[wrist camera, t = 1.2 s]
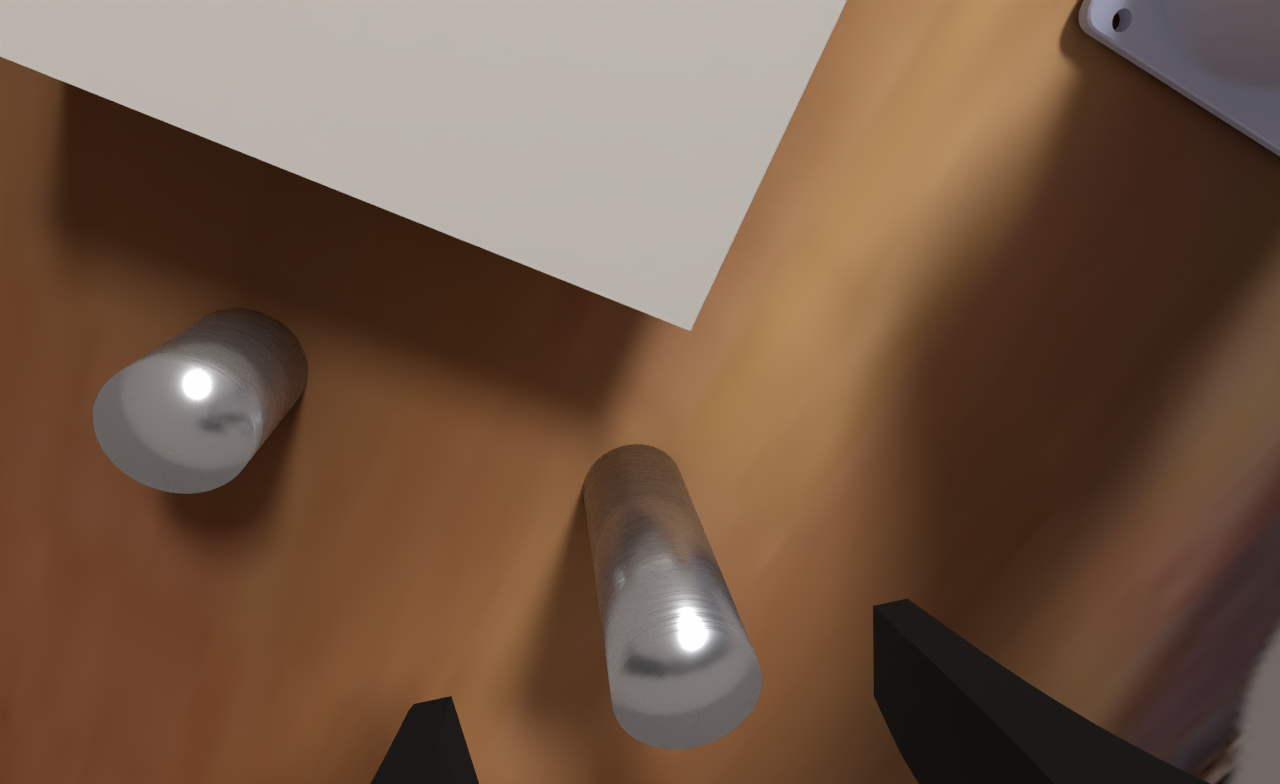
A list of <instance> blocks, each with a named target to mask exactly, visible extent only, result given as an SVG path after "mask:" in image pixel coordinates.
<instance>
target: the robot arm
mask: <svg viewBox="0 0 1280 784" xmlns="http://www.w3.org/2000/svg"><path fill="white" fill-rule="evenodd" d="M1116 13H1118V14H1119V18H1120V22H1119V25H1118V27H1117V28H1116V30H1114V29H1113V27H1112V20H1113V17H1114V15H1115V14H1116ZM1078 20H1079V24H1080V27H1081V29H1082V30H1083V31H1084V32H1085V33H1086V34H1088V35H1090V36H1091V37H1093V38H1094V39H1096V40H1097V41H1099V42H1101V43H1102V44H1104V45H1105V46H1107V47H1108V48H1110V49H1112V50H1113V51H1115V52H1116V53H1118V54H1119V55H1121V56H1123V57H1124V58H1126V59H1127V60H1129V61H1130V62H1132V63H1134V64H1135V65H1137V66H1138V67H1140V68H1141V69H1143V70H1145V71H1146V72H1148V73H1149V74H1151V75H1152V76H1154V77H1156V78H1157V79H1159V80H1160V81H1162V82H1163V83H1165V84H1167V85H1168V86H1170V87H1171V88H1173V89H1174V90H1176V91H1177V92H1179V93H1181V94H1182V95H1184V96H1185V97H1187V98H1188V99H1190V100H1192V101H1193V102H1195V103H1196V104H1198V105H1199V106H1201V107H1203V108H1204V109H1206V110H1207V111H1209V112H1210V113H1212V114H1214V115H1215V116H1217V117H1218V118H1220V119H1221V120H1223V121H1225V122H1226V123H1228V124H1229V125H1231V126H1232V127H1234V128H1236V129H1237V130H1239V131H1240V132H1242V133H1243V134H1245V135H1247V136H1248V137H1250V138H1251V139H1253V140H1254V141H1256V142H1258V143H1259V144H1261V145H1262V146H1264V147H1265V148H1267V149H1269V150H1270V151H1272V152H1273V153H1275V154H1276V155H1278V156H1279V157H1280V0H1084V1H1083V3H1082V5H1081V8H1080V10H1079V19H1078ZM873 636H874V697H875V699H876V701H877V704H878V706H879V708H880V710H881V712H882V715H883V717H884V719H885V721H886V723H887V726H888V728H889V730H890V732H891V734H892V736H893V738H894V740H895V742H896V744H897V747H898V749H899V751H900V753H901V755H902V756H903V758H904V760H905V761H906V763H907V765H908V767H909V768H910V770H911V772H912V773H913V775H914V776H915V778H916V780H917V781H918V783H919V784H1210V783H1207V782H1205V781H1203V780H1201V779H1199V778H1197V777H1195V776H1192V775H1190V774H1188V773H1186V772H1184V771H1182V770H1180V769H1178V768H1176V767H1174V766H1172V765H1170V764H1168V763H1166V762H1164V761H1162V760H1160V759H1159V758H1157V757H1155V756H1153V755H1151V754H1149V753H1147V752H1145V751H1143V750H1142V749H1140V748H1138V747H1136V746H1134V745H1132V744H1130V743H1128V742H1126V741H1125V740H1123V739H1121V738H1119V737H1117V736H1115V735H1113V734H1112V733H1110V732H1108V731H1106V730H1105V729H1103V728H1101V727H1099V726H1097V725H1096V724H1094V723H1092V722H1090V721H1089V720H1087V719H1086V718H1084V717H1082V716H1081V715H1079V714H1077V713H1076V712H1074V711H1072V710H1071V709H1069V708H1067V707H1066V706H1064V705H1062V704H1061V703H1059V702H1057V701H1056V700H1054V699H1052V698H1051V697H1049V696H1048V695H1046V694H1044V693H1043V692H1041V691H1040V690H1038V689H1037V688H1035V687H1033V686H1032V685H1030V684H1029V683H1027V682H1026V681H1024V680H1023V679H1021V678H1020V677H1018V676H1017V675H1015V674H1014V673H1012V672H1011V671H1009V670H1008V669H1006V668H1005V667H1003V666H1002V665H1000V664H999V663H997V662H996V661H994V660H993V659H991V658H990V657H989V656H987V655H986V654H984V653H983V652H981V651H980V650H979V649H977V648H976V647H974V646H973V645H971V644H970V643H969V642H967V641H966V640H964V639H963V638H962V637H960V636H959V635H957V634H956V633H955V632H953V631H952V630H950V629H949V628H948V627H946V626H945V625H943V624H942V623H941V622H939V621H938V620H936V619H935V618H934V617H932V616H931V615H929V614H928V613H927V612H925V611H924V610H922V609H921V608H920V607H918V606H917V605H915V604H914V603H912V602H911V601H910V600H908V599H904V600H899V601H894V602H890V603H885V604H880V605H876V606H873ZM371 784H479V782H478V779H477V776H476V773H475V769H474V766H473V763H472V760H471V757H470V754H469V751H468V747H467V744H466V741H465V738H464V735H463V732H462V728H461V725H460V722H459V719H458V716H457V713H456V710H455V706H454V703H453V700H452V697H451V696H450V697H445V698H440V699H436V700H431V701H426V702H422V703H417V704H414V705H413V706H412V707H411V708H410V710H409V711H408V713H407V715H406V717H405V719H404V721H403V723H402V725H401V727H400V729H399V731H398V733H397V735H396V737H395V739H394V741H393V743H392V745H391V746H390V748H389V750H388V752H387V754H386V756H385V758H384V760H383V762H382V764H381V765H380V767H379V769H378V771H377V773H376V775H375V777H374V778H373V780H372V782H371Z"/></svg>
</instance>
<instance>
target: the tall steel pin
mask: <svg viewBox="0 0 1280 784" xmlns="http://www.w3.org/2000/svg"><path fill="white" fill-rule="evenodd" d="M583 496H584V504H585V511H586V518H587V526H588V533H589V540H590V547H591V555H592V562H593V569H594V576H595V584H596V591H597V598H598V605H599V613H600V620H601V627H602V634H603V642H604V649H605V656H606V663H607V671H608V678H609V685H610V692H611V700H612V707H613V711H614V714H615V717H616V719H617V721H618V723H619V724H620V726H621V727H622V728H623V729H624V730H625V731H626V732H627V733H628V734H629V735H630V736H632V737H633V738H635V739H636V740H638V741H640V742H642V743H644V744H647V745H650V746H653V747H657V748H664V749H686V748H693V747H697V746H701V745H704V744H707V743H710V742H713V741H715V740H717V739H719V738H721V737H723V736H725V735H726V734H728V733H729V732H731V731H732V730H734V729H735V728H736V727H737V726H739V725H740V724H741V723H742V722H743V721H744V720H745V719H746V718H747V716H748V715H749V714H750V713H751V711H752V710H753V708H754V706H755V705H756V703H757V701H758V698H759V695H760V692H761V687H762V674H761V669H760V665H759V662H758V660H757V658H756V655H755V653H754V650H753V648H752V645H751V643H750V641H749V638H748V636H747V633H746V631H745V628H744V626H743V624H742V621H741V619H740V616H739V614H738V611H737V609H736V607H735V604H734V602H733V599H732V597H731V594H730V592H729V590H728V587H727V585H726V582H725V580H724V577H723V575H722V572H721V570H720V568H719V565H718V563H717V560H716V558H715V555H714V553H713V551H712V548H711V546H710V543H709V541H708V538H707V536H706V534H705V531H704V529H703V526H702V524H701V521H700V519H699V517H698V514H697V512H696V509H695V507H694V504H693V502H692V500H691V497H690V495H689V492H688V490H687V487H686V485H685V483H684V480H683V478H682V475H681V473H680V470H679V468H678V466H677V465H676V463H675V462H674V461H673V460H672V458H671V457H670V456H668V455H667V454H666V453H664V452H663V451H661V450H659V449H657V448H654V447H651V446H647V445H635V444H634V445H626V446H622V447H619V448H616V449H613V450H611V451H609V452H608V453H606V454H604V455H603V456H602V457H601V458H599V459H598V460H597V461H596V462H595V463H594V464H593V466H592V467H591V469H590V470H589V472H588V474H587V476H586V479H585V482H584V488H583Z"/></svg>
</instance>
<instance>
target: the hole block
mask: <svg viewBox="0 0 1280 784" xmlns="http://www.w3.org/2000/svg"><path fill="white" fill-rule="evenodd" d="M846 1H847V0H0V57H3V58H6V59H8V60H11V61H13V62H16V63H18V64H21V65H23V66H26V67H28V68H31V69H33V70H36V71H38V72H41V73H43V74H46V75H48V76H51V77H53V78H56V79H58V80H61V81H63V82H66V83H68V84H71V85H73V86H76V87H78V88H81V89H83V90H86V91H88V92H91V93H93V94H96V95H99V96H101V97H104V98H106V99H109V100H111V101H114V102H116V103H119V104H121V105H124V106H126V107H129V108H131V109H134V110H136V111H139V112H141V113H144V114H146V115H149V116H151V117H154V118H156V119H159V120H161V121H164V122H166V123H169V124H171V125H174V126H176V127H179V128H181V129H184V130H186V131H189V132H191V133H194V134H197V135H199V136H202V137H204V138H207V139H209V140H212V141H214V142H217V143H219V144H222V145H224V146H227V147H229V148H232V149H234V150H237V151H239V152H242V153H244V154H247V155H249V156H252V157H254V158H257V159H259V160H262V161H264V162H267V163H269V164H272V165H274V166H277V167H279V168H282V169H284V170H287V171H289V172H292V173H295V174H297V175H300V176H302V177H305V178H307V179H310V180H312V181H315V182H317V183H320V184H322V185H325V186H327V187H330V188H332V189H335V190H337V191H340V192H342V193H345V194H347V195H350V196H352V197H355V198H357V199H360V200H362V201H365V202H367V203H370V204H372V205H375V206H377V207H380V208H382V209H385V210H388V211H390V212H393V213H395V214H398V215H400V216H403V217H405V218H408V219H410V220H413V221H415V222H418V223H420V224H423V225H425V226H428V227H430V228H433V229H435V230H438V231H440V232H443V233H445V234H448V235H450V236H453V237H455V238H458V239H460V240H463V241H465V242H468V243H470V244H473V245H475V246H478V247H480V248H483V249H486V250H488V251H491V252H493V253H496V254H498V255H501V256H503V257H506V258H508V259H511V260H513V261H516V262H518V263H521V264H523V265H526V266H528V267H531V268H533V269H536V270H538V271H541V272H543V273H546V274H548V275H551V276H553V277H556V278H558V279H561V280H563V281H566V282H568V283H571V284H573V285H576V286H579V287H581V288H584V289H586V290H589V291H591V292H594V293H596V294H599V295H601V296H604V297H606V298H609V299H611V300H614V301H616V302H619V303H621V304H624V305H626V306H629V307H631V308H634V309H636V310H639V311H641V312H644V313H646V314H649V315H651V316H654V317H656V318H659V319H661V320H664V321H666V322H669V323H671V324H674V325H677V326H679V327H682V328H684V329H687V330H689V331H691V328H692V326H693V324H694V322H695V320H696V318H697V316H698V314H699V312H700V309H701V307H702V305H703V303H704V301H705V299H706V297H707V295H708V293H709V290H710V288H711V286H712V284H713V282H714V280H715V278H716V276H717V273H718V271H719V269H720V267H721V265H722V263H723V261H724V259H725V257H726V254H727V252H728V250H729V248H730V246H731V244H732V242H733V240H734V238H735V235H736V233H737V231H738V229H739V227H740V225H741V223H742V221H743V219H744V216H745V214H746V212H747V210H748V208H749V206H750V204H751V202H752V200H753V197H754V195H755V193H756V191H757V189H758V187H759V185H760V183H761V181H762V178H763V176H764V174H765V172H766V170H767V168H768V166H769V164H770V161H771V159H772V157H773V155H774V153H775V151H776V149H777V147H778V145H779V142H780V140H781V138H782V136H783V134H784V132H785V130H786V128H787V126H788V123H789V121H790V119H791V117H792V115H793V113H794V111H795V109H796V107H797V104H798V102H799V100H800V98H801V96H802V94H803V92H804V90H805V88H806V85H807V83H808V81H809V79H810V77H811V75H812V73H813V71H814V69H815V66H816V64H817V62H818V60H819V58H820V56H821V54H822V52H823V49H824V47H825V45H826V43H827V41H828V39H829V37H830V35H831V33H832V30H833V28H834V26H835V24H836V22H837V20H838V18H839V16H840V14H841V11H842V9H843V7H844V5H845V3H846Z"/></svg>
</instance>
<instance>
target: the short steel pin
mask: <svg viewBox="0 0 1280 784" xmlns="http://www.w3.org/2000/svg"><path fill="white" fill-rule="evenodd" d="M307 379H308V363H307V359H306V355H305V353H304V350H303V348H302V346H301V344H300V342H299V341H298V340H297V338H296V337H295V336H294V334H293V333H292V332H291V331H290V330H289V329H288V328H287V327H285V326H284V325H283V324H282V323H280V322H279V321H277V320H276V319H274V318H272V317H270V316H268V315H266V314H263V313H261V312H257V311H254V310H249V309H240V308H232V309H224V310H219V311H216V312H213V313H211V314H209V315H207V316H205V317H203V318H202V319H200V320H198V321H197V322H195V323H194V324H192V325H191V326H189V327H188V328H186V329H185V330H183V331H181V332H180V333H178V334H177V335H175V336H174V337H172V338H171V339H169V340H168V341H166V342H165V343H163V344H161V345H160V346H158V347H157V348H155V349H154V350H152V351H151V352H149V353H148V354H146V355H144V356H143V357H141V358H140V359H138V360H137V361H135V362H134V363H132V364H131V365H129V366H127V367H126V368H124V369H123V370H121V371H120V372H118V373H117V374H116V375H114V376H113V377H111V378H110V379H109V380H108V381H107V382H106V383H105V385H104V386H103V387H102V389H101V390H100V392H99V394H98V396H97V398H96V401H95V404H94V410H93V425H94V430H95V434H96V437H97V439H98V442H99V444H100V446H101V447H102V449H103V451H104V452H105V454H106V455H107V456H108V458H109V459H110V460H111V461H112V462H113V463H114V464H115V465H116V466H117V467H118V468H119V469H120V470H121V471H122V472H124V473H125V474H127V475H128V476H129V477H131V478H132V479H134V480H136V481H138V482H140V483H142V484H144V485H146V486H149V487H151V488H154V489H158V490H161V491H166V492H171V493H180V494H191V493H201V492H205V491H210V490H213V489H216V488H218V487H220V486H222V485H224V484H226V483H228V482H229V481H231V480H232V479H234V478H235V477H236V476H237V475H238V474H239V473H240V472H241V471H242V470H243V468H244V467H245V466H246V465H247V463H248V462H249V461H250V460H251V458H252V457H253V456H254V454H255V453H256V452H257V451H258V449H259V448H260V447H261V446H262V444H263V443H264V442H265V441H266V439H267V438H268V437H269V435H270V434H271V433H272V432H273V430H274V429H275V428H276V427H277V425H278V424H279V423H280V421H281V420H282V419H283V418H284V416H285V415H286V414H287V413H288V411H289V410H290V409H291V407H292V406H293V405H294V404H295V402H296V401H297V400H298V399H299V397H300V396H301V394H302V393H303V391H304V389H305V386H306V383H307Z"/></svg>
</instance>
